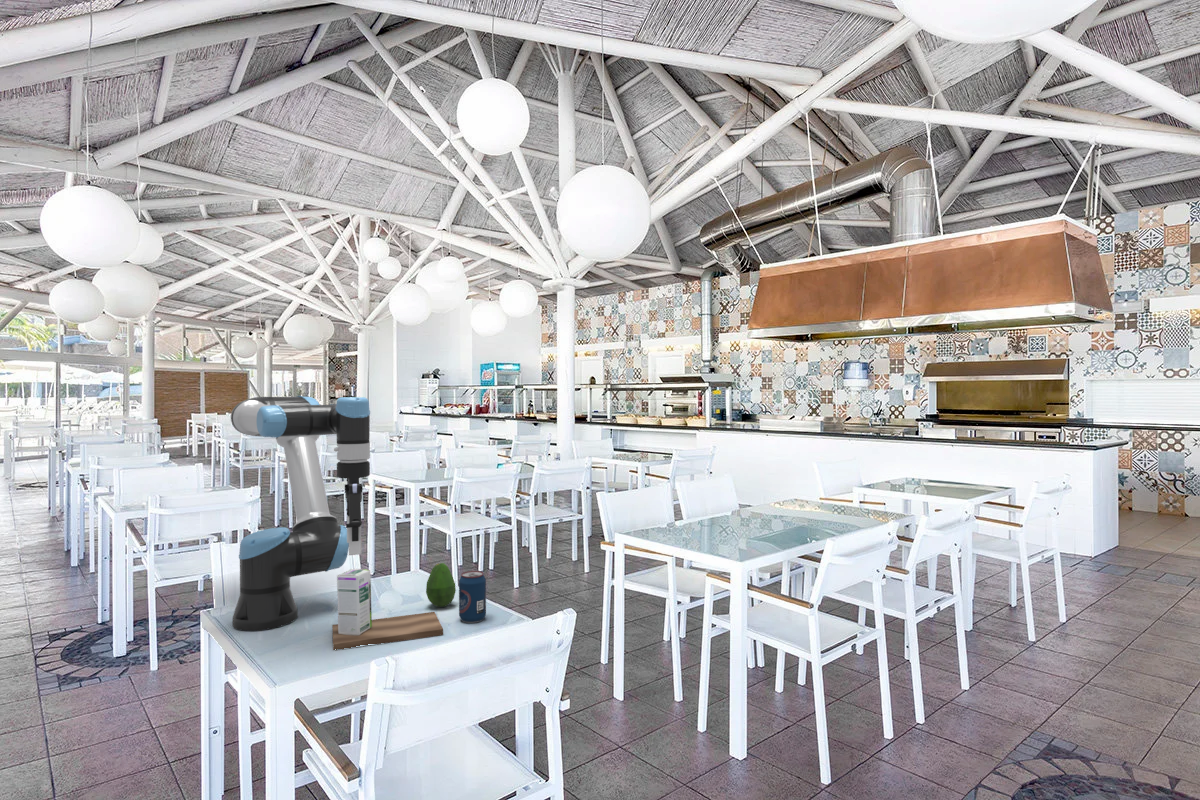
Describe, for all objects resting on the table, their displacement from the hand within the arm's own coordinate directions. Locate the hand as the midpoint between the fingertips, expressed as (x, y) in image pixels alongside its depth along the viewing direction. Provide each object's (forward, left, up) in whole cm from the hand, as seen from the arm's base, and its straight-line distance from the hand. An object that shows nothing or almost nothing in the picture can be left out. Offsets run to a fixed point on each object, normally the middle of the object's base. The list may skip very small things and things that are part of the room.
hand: (353, 548), depth 161 cm
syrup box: (0, 0, -20) cm, 20 cm away
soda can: (-1, +29, -22) cm, 36 cm away
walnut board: (0, +8, -22) cm, 23 cm away
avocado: (-15, +23, -22) cm, 35 cm away
